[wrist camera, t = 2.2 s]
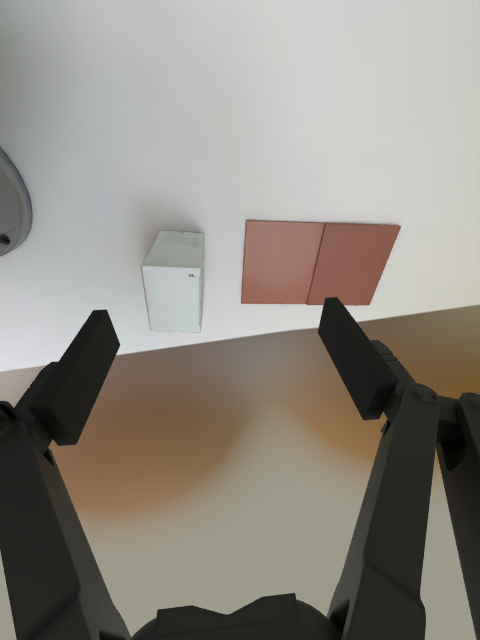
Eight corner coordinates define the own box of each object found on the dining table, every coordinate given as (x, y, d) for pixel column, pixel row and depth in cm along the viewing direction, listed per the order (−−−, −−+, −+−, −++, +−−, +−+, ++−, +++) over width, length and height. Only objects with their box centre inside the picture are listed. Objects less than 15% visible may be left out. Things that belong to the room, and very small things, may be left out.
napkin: (241, 302, 39) (241, 304, 38) (246, 220, 32) (246, 221, 32) (367, 303, 41) (369, 305, 40) (398, 225, 34) (401, 226, 33)
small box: (160, 228, 32) (139, 262, 23) (205, 232, 33) (201, 266, 24) (164, 286, 36) (148, 332, 28) (204, 288, 37) (200, 334, 29)
